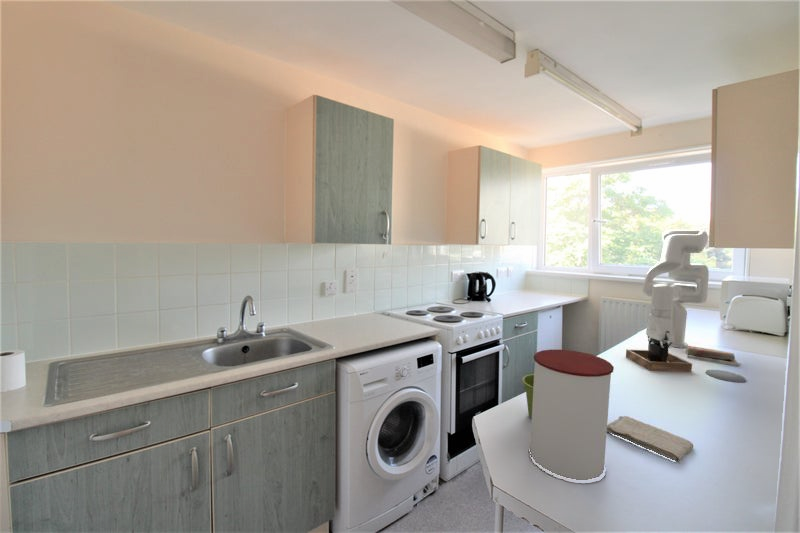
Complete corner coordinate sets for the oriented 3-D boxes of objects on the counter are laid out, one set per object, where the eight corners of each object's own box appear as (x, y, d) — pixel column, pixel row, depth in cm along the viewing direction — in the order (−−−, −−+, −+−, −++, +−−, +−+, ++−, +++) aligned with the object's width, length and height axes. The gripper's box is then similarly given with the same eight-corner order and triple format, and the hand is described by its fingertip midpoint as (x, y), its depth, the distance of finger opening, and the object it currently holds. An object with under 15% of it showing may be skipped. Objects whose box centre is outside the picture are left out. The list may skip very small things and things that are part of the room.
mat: (698, 370, 154) (698, 369, 154) (727, 371, 154) (728, 370, 154) (721, 381, 142) (721, 380, 142) (754, 382, 142) (754, 381, 142)
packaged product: (687, 348, 170) (686, 343, 178) (686, 358, 170) (685, 353, 178) (740, 356, 159) (736, 351, 168) (738, 367, 160) (735, 361, 168)
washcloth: (620, 421, 111) (621, 411, 110) (695, 450, 97) (696, 439, 96) (602, 434, 104) (603, 423, 103) (679, 467, 89) (680, 454, 89)
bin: (625, 356, 170) (626, 349, 169) (663, 358, 169) (664, 350, 169) (648, 370, 153) (649, 362, 152) (691, 372, 152) (692, 363, 152)
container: (614, 459, 91) (621, 360, 89) (594, 495, 78) (603, 381, 76) (543, 433, 102) (548, 345, 100) (516, 461, 89) (521, 360, 87)
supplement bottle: (662, 362, 163) (664, 335, 162) (669, 367, 157) (671, 339, 156) (644, 360, 165) (647, 334, 164) (650, 365, 158) (653, 338, 157)
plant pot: (512, 413, 113) (513, 377, 112) (539, 405, 119) (541, 371, 118) (542, 432, 103) (545, 392, 102) (571, 422, 108) (574, 385, 107)
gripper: (639, 308, 168) (636, 347, 169) (665, 317, 150) (661, 360, 152) (656, 309, 167) (653, 347, 169) (684, 318, 150) (680, 360, 152)
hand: (657, 353), depth 160 cm, fingers closed on supplement bottle, 6 cm apart
